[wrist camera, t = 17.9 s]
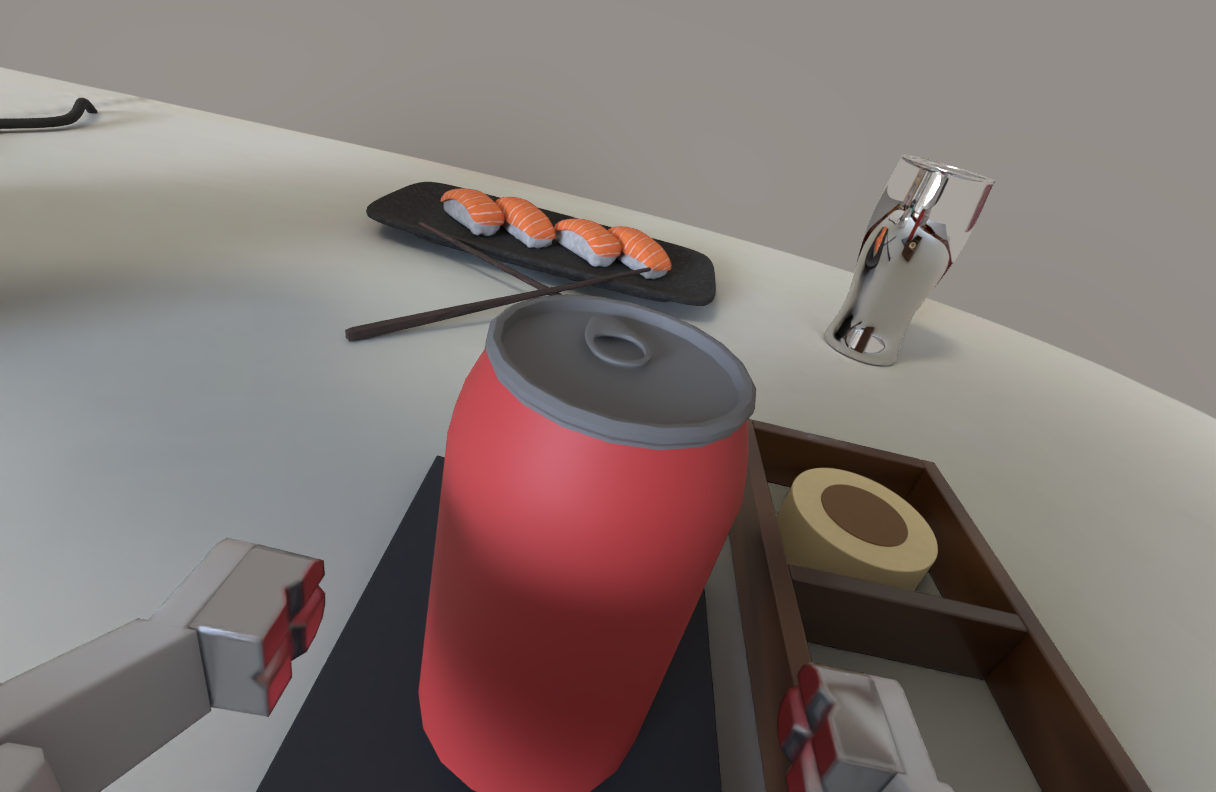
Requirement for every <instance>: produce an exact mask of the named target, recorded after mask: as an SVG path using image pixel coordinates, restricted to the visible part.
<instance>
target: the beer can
mask: <svg viewBox="0 0 1216 792" xmlns="http://www.w3.org/2000/svg"><path fill="white" fill-rule="evenodd" d="M755 399H756V387H755V385H754V383H753V381H752V379H751V378H750V376H749V374H748V372H747V370H746V368H745V366H744V365H743V363H742V362H741V361H740V360H739V359H738V358H737V357H736V356H735V355H734V354H733V353H732V352H731V351H730V350H729V349H728V348H727V347H726V346H724V345H723V344H722V343H721V342H719V341H718V340H716V339H714V338H713V337H711V336H710V335H708V334H707V333H705V332H703V331H702V330H700V329H699V328H697V327H695V326H693V325H691V324H689V323H686V322H684V321H682V320H680V319H678V318H675V317H673V316H671V315H669V314H666V313H663V312H660V311H657V310H654V309H651V308H648V307H644V306H641V305H638V304H635V303H631V302H626V301H620V300H615V299H610V298H605V297H599V296H584V295H568V294H565V295H554V296H544V297H536V298H533V299H530V300H527V301H524V302H521V303H518V304H515V305H512V306H510V307H508V308H507V309H505V310H504V311H503V312H502V313H501V314H500V315H498V316H497V317H496V318H495V319H494V320H493V321H491V322H490V326H489V330H488V334H487V338H486V343H485V350H484V351H483V353H482V354H481V356H480V357H479V359H478V360H477V362H476V363H475V365H474V367H473V368H472V370H471V371H470V373H469V375H468V376H467V378H466V379H465V382H464V384H463V387H462V390H461V392H460V395H459V397H458V400H457V402H456V405H455V408H454V412H453V415H452V419H451V422H450V426H449V429H448V434H447V443H446V452H445V461H444V470H443V479H442V487H441V496H440V505H439V514H438V523H437V532H436V541H435V550H434V559H433V567H432V576H431V585H430V594H429V603H428V612H427V621H426V630H425V639H424V647H423V656H422V665H421V674H420V683H419V692H418V693H419V701H420V708H421V715H422V723H423V729H424V731H425V732H426V734H427V736H428V738H429V740H430V742H431V744H432V746H433V748H434V750H435V751H436V753H437V755H438V757H439V759H440V761H441V762H442V763H443V764H444V765H445V766H446V767H447V768H448V769H450V770H451V771H452V772H453V773H454V774H455V775H456V776H457V777H458V778H459V779H461V780H462V781H463V782H464V783H465V784H466V785H467V786H468V787H469V788H470V789H472V790H474V791H477V792H590V791H592V790H593V789H594V788H595V787H597V786H598V785H599V784H601V783H602V782H603V781H604V780H606V779H607V778H608V777H610V776H611V775H612V774H613V773H615V772H616V771H617V769H618V768H619V766H620V765H621V763H622V761H623V760H624V758H625V757H626V755H627V753H628V752H629V750H630V748H631V747H632V745H633V744H634V742H635V740H636V738H637V736H638V733H639V731H640V729H641V727H642V725H643V722H644V720H645V718H646V716H647V713H648V711H649V709H650V707H651V705H652V702H653V700H654V698H655V696H656V693H657V691H658V689H659V687H660V685H661V682H662V680H663V678H664V676H665V673H666V671H667V669H668V667H669V665H670V662H671V660H672V658H673V656H674V653H675V651H676V649H677V647H678V645H679V642H680V640H681V638H682V636H683V633H684V631H685V629H686V627H687V625H688V622H689V620H690V618H691V616H692V614H693V611H694V609H695V607H696V605H697V602H698V600H699V598H700V596H701V594H702V591H703V589H704V587H705V585H706V582H707V580H708V578H709V576H710V574H711V571H712V569H713V567H714V565H715V562H716V560H717V558H718V556H719V554H720V551H721V549H722V547H723V545H724V542H725V540H726V538H727V536H728V534H729V531H730V529H731V527H732V525H733V522H734V520H735V518H736V516H737V514H738V511H739V509H740V507H741V505H742V501H743V495H744V488H745V482H746V476H747V464H748V451H749V441H748V418H749V417H750V416H751V415H752V414H753V412H754V409H755Z"/></svg>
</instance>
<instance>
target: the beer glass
mask: <svg viewBox="0 0 1216 792" xmlns="http://www.w3.org/2000/svg"><path fill="white" fill-rule="evenodd" d="M994 183H995V181H994V180H992V179H990V178H987V177H985V176H982V175H979V174H976V173H973V172H970V171H967V170H964V169H961V168H957V167H954V166H950V165H947V164H943V163H940V162H936V161H932V160H929V159H925V158H921V157H916V156H912V155H906V154H903V155H902V157H901V159H900V161H899V163H898V165H897V167H896V169H895V170H894V172H893V174H892V176H891V178H890V179H889V181H888V183H887V185H886V187H885V189H884V191H883V193H882V195H881V197H880V199H879V201H878V203H877V205H876V207H875V209H874V212H873V214H872V217H871V219H870V221H869V224H868V226H867V229H866V232H865V236H864V239H863V242H862V246H861V249H860V253H859V257H858V260H857V264H856V268H855V272H854V276H853V279H852V283H851V286H850V289H849V292H848V295H847V297H846V299H845V301H844V303H843V305H842V307H841V309H840V310H839V312H838V314H837V315H836V316H835V318H834V319H833V321H832V322H831V324H830V325H829V326H828V328H827V329H826V331H825V334H824V338H825V340H826V341H827V343H828V344H829V345H831V346H832V347H833V348H834V349H836V350H837V351H839V352H841V353H843V354H844V355H846V356H849V357H851V358H853V359H856V360H858V361H861V362H865V363H868V364H872V365H879V366H887V365H891V364H893V363H894V362H895V361H896V358H897V356H898V353H899V349H900V346H901V343H902V339H903V336H904V334H905V331H906V329H907V327H908V325H909V323H910V321H911V319H912V318H913V316H914V314H915V313H916V311H917V310H918V309H919V307H920V306H921V305H922V303H923V302H924V301H925V299H926V298H927V297H928V296H929V294H930V293H931V292H932V290H933V289H934V288H935V287H936V285H937V284H938V283H939V281H940V280H941V279H942V278H943V276H944V275H945V274H946V272H947V271H948V269H949V268H950V267H951V265H952V264H953V262H954V261H955V259H956V258H957V257H958V255H959V253H960V252H961V250H962V248H963V246H964V245H965V243H966V241H967V240H968V238H969V236H970V234H971V232H972V230H973V228H974V226H975V224H976V222H977V220H978V217H979V215H980V213H981V211H982V209H983V206H984V204H985V201H986V199H987V197H988V195H989V192H990V190H991V188H992V186H993V184H994Z"/></svg>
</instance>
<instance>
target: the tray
mask: <svg viewBox="0 0 1216 792" xmlns="http://www.w3.org/2000/svg"><path fill="white" fill-rule="evenodd" d="M748 441H749V451H748V464H747V476H746V482H745V488H744V495H743V501H742V505H741V507H740V509H739V511H738V514H737V516H736V518H735V520H734V522H733V525H732V527H731V529H730V531H729V537H730V544H731V551H732V558H733V565H734V571H735V578H736V585H737V592H738V599H739V606H740V613H741V620H742V627H743V633H744V640H745V647H746V654H747V661H748V668H749V675H750V682H751V689H752V695H753V702H754V709H755V716H756V723H757V730H758V737H759V744H760V751H761V757H762V764H763V771H764V778H765V785H766V792H788V791H787V786H786V780H785V775H786V773H787V771H788V769H789V768H790V766H791V763H790V761H789V760H788V759H787V757H786V756H785V755H784V753H783V752H782V750H781V749H780V746H779V740H778V733H777V717H778V711H779V706H780V702H781V700H782V698H783V696H784V695H785V693H786V691H787V690H788V689H791V688H793V687H795V686H797V685H799V682H798V677H797V673H798V672H799V670H800V669H801V667H802V666H803V665H804V664H806V663H808V662H812V660H811V656H810V652H809V648H808V644H807V641H809V642H813V643H818V644H823V645H827V646H832V647H836V648H841V649H846V650H850V651H855V652H859V653H864V654H869V655H873V656H878V657H882V658H887V659H892V660H896V661H901V662H905V663H910V664H915V665H919V666H924V667H928V668H933V669H938V670H942V671H947V672H952V673H956V674H961V675H965V676H970V677H975V678H979V679H985V680H986V682H987V683H988V685H989V687H990V689H991V691H992V693H993V695H994V697H995V699H996V701H997V703H998V705H999V707H1000V709H1001V711H1002V713H1003V714H1004V716H1005V718H1006V720H1007V722H1008V724H1009V726H1010V728H1011V730H1012V732H1013V734H1014V736H1015V738H1016V740H1017V742H1018V744H1019V746H1020V747H1021V749H1022V751H1023V753H1024V755H1025V757H1026V759H1027V761H1028V763H1029V765H1030V767H1031V769H1032V771H1033V773H1034V775H1035V777H1036V778H1037V780H1038V782H1039V784H1040V786H1041V788H1042V790H1043V792H1152V791H1151V790H1150V788H1149V787H1148V785H1147V784H1146V782H1145V781H1144V779H1143V778H1142V776H1141V775H1140V773H1139V772H1138V770H1137V769H1136V767H1135V766H1134V764H1133V763H1132V761H1131V760H1130V758H1129V757H1128V755H1127V754H1126V752H1125V751H1124V749H1123V747H1122V746H1121V744H1120V743H1119V741H1118V740H1117V738H1116V737H1115V735H1114V734H1113V732H1112V731H1111V729H1110V728H1109V726H1108V725H1107V723H1106V722H1105V720H1104V719H1103V717H1102V716H1101V714H1100V713H1099V711H1098V710H1097V708H1096V707H1095V705H1094V704H1093V702H1092V701H1091V699H1090V698H1089V696H1088V695H1087V693H1086V692H1085V690H1084V688H1083V687H1082V685H1081V684H1080V682H1079V681H1078V679H1077V678H1076V676H1075V675H1074V673H1073V672H1072V670H1071V669H1070V667H1069V666H1068V664H1067V663H1066V661H1065V660H1064V658H1063V657H1062V655H1061V654H1060V652H1059V651H1058V649H1057V648H1056V646H1055V645H1054V643H1053V642H1052V640H1051V639H1050V637H1049V636H1048V634H1047V632H1046V631H1045V629H1044V628H1043V626H1042V625H1041V623H1040V622H1039V620H1038V619H1037V617H1036V616H1035V614H1034V613H1033V611H1032V610H1031V608H1030V607H1029V605H1028V604H1027V602H1026V601H1025V599H1024V598H1023V596H1022V595H1021V593H1020V592H1019V590H1018V589H1017V587H1016V586H1015V584H1014V583H1013V581H1012V580H1011V578H1010V577H1009V575H1008V573H1007V572H1006V570H1005V569H1004V567H1003V566H1002V564H1001V563H1000V561H999V560H998V558H997V557H996V555H995V554H994V552H993V551H992V549H991V548H990V546H989V545H988V543H987V542H986V540H985V539H984V537H983V536H982V534H981V533H980V531H979V530H978V528H977V527H976V525H975V524H974V522H973V521H972V519H971V518H970V516H969V514H968V513H967V511H966V510H965V508H964V507H963V505H962V504H961V502H960V501H959V499H958V498H957V496H956V495H955V493H954V492H953V490H952V489H951V487H950V486H949V484H948V483H947V481H946V480H945V478H944V477H943V475H942V474H941V472H940V471H939V469H938V468H937V466H936V465H935V463H933V462H929V461H925V460H919V459H917V458H913V457H908V456H904V455H900V454H896V453H891V452H887V451H883V450H879V449H874V448H870V447H866V446H862V445H857V444H853V443H849V442H845V441H840V440H836V439H832V438H828V437H824V436H819V435H815V434H811V433H807V432H802V431H798V430H794V429H790V428H785V427H781V426H777V425H773V424H768V423H764V422H760V421H756V420H751V419H748ZM815 468H833V469H840V470H844V471H848V472H852V473H855V474H858V475H861V476H863V477H866V478H868V479H870V480H873V481H875V482H877V483H879V484H880V485H882V486H884V487H886V488H887V489H889V490H891V491H892V492H894V493H895V494H897V495H898V496H900V497H901V498H902V499H904V500H905V501H906V502H907V503H909V504H910V505H911V506H912V507H913V508H914V509H915V510H916V511H917V512H918V513H919V514H920V515H921V516H922V517H923V518H924V519H925V521H926V522H927V523H928V525H929V526H930V528H931V530H932V531H933V533H934V535H935V538H936V541H937V545H938V554H937V558H936V560H935V562H934V563H933V565H932V566H931V567H930V569H929V571H930V573H931V575H932V577H933V579H934V581H935V583H936V585H937V587H938V588H939V590H940V592H941V594H942V596H943V598H941V597H937V596H932V595H928V594H923V593H919V592H914V591H910V590H906V589H901V588H897V587H892V586H888V585H883V584H879V583H874V582H870V581H865V580H861V579H856V578H852V577H847V576H843V575H838V574H834V573H830V572H825V571H821V570H816V569H812V568H807V567H803V566H798V565H794V564H787V560H786V556H785V552H784V548H783V544H782V540H781V536H780V532H779V528H778V524H777V520H776V516H775V512H774V508H773V504H772V500H771V496H770V492H769V488H768V484H767V481H769V482H773V483H778V484H782V485H786V486H792V484H793V482H794V480H795V479H796V477H797V476H799V475H800V474H801V473H803V472H805V471H807V470H810V469H815Z"/></svg>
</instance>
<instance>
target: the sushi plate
mask: <svg viewBox="0 0 1216 792" xmlns="http://www.w3.org/2000/svg"><path fill="white" fill-rule="evenodd" d="M366 212H367V215H368V217H370V218H371V219H373V220H375V221H377V222H380V223H383V224H385V225H388V226H392V227H395V228H398V229H402V230H405V231H409V232H412V233H414V234H415V235H416V236H418V237H420V238H422V239H425V240H427V241H430V242H434V243H437V244H440V245H444V246H448V247H451V248H455V249H458V250H462V251H466V252H470V253H472V254H474V255H475V256H477V257H479V258H481V259H483V260H485V261H487V262H488V263H490V264H492V265H494V266H496V267H498V268H500V269H501V270H503V271H505V272H507V273H509V274H511V275H513V276H514V277H516V278H518V279H520V280H522V281H524V282H526V283H527V284H529V285H531V286H533V287H535V288H537V289H538V290H536V291H531V292H526V293H521V294H516V295H511V296H506V297H501V298H496V299H490V300H485V301H480V302H475V303H470V304H464V305H459V306H454V307H449V308H444V309H439V310H434V311H429V312H424V313H419V314H415V315H410V316H405V317H400V318H395V319H390V320H385V321H380V322H375V323H370V324H366V325H361V326H356V327H351V328H349V329H346V330H345V333H346V338H347V339H348V340H349V341H356V340H361V339H365V338H369V337H374V336H378V335H382V334H386V333H391V332H395V331H399V330H404V329H408V328H412V327H416V326H421V325H425V324H429V323H433V322H437V321H442V320H446V319H450V318H454V317H458V316H462V315H467V314H471V313H475V312H479V311H483V310H487V309H491V308H495V307H499V306H503V305H507V304H511V303H515V302H519V301H523V300H528V299H532V298H536V297H540V296H545V295H549V296H554V295H563V294H561V293H559V292H562V291H566V290H570V289H575V288H579V287H583V286H588V285H594V286H598V287H602V288H605V289H609V290H613V291H617V292H620V293H624V294H628V295H632V296H636V297H640V298H644V299H649V300H654V301H662V302H666V301H673V302H678V303H683V304H688V305H696V306H705V305H708V304H709V303H711V302H712V301H713V299H714V296H715V290H716V284H715V272H714V267H713V264H712V262H711V260H710V259H709V258H708V257H707V256H705V255H704V254H702V253H699V252H697V251H694V250H692V249H688V248H685V247H682V246H679V245H675V244H672V243H668V242H664V241H661V240H657V239H653V238H650V237H649V236H648V235H646V234H644V233H643V232H641V231H639V230H637V229H634V228H629V227H622V226H620V227H613V228H612V227H608V226H605V225H601V224H598V223H595V222H593V221H589V220H585V219H578V218H574V217H571V216H567V215H563V214H559V213H556V212H552V211H548V210H544V209H541V208H537V207H536V206H534V205H533V204H532V203H530V202H529V201H527V200H524V199H521V198H515V197H503V198H499V197H495V196H492V195H488V194H484V193H482V192H480V191H477V190H472V189H465V188H461V187H456V186H452V185H447V184H442V183H436V182H420V183H415V184H412V185H409V186H406V187H404V188H402V189H399V190H397V191H395V192H392V193H390V194H388V195H386V196H384V197H381V198H380V199H378V200H376V201H374V202H372V203H371V204H370V205H369V206H368V207H367V210H366ZM495 259H496V260H495ZM497 260H500V261H504V262H507V263H511V264H515V265H519V266H522V267H526V268H530V269H534V270H538V271H541V272H545V273H549V274H553V275H556V276H560V277H564V278H568V279H571V280H575V281H579V282H575V283H570V284H565V285H561V286H556V287H551V288H549V287H547V286H545V285H543V284H541V283H539V282H537V281H535V280H533V279H531V278H529V277H527V276H525V275H523V274H522V273H520V272H518V271H516V270H514V269H512V268H510V267H508V266H506V265H504V264H502V263H500V262H498V261H497Z"/></svg>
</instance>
